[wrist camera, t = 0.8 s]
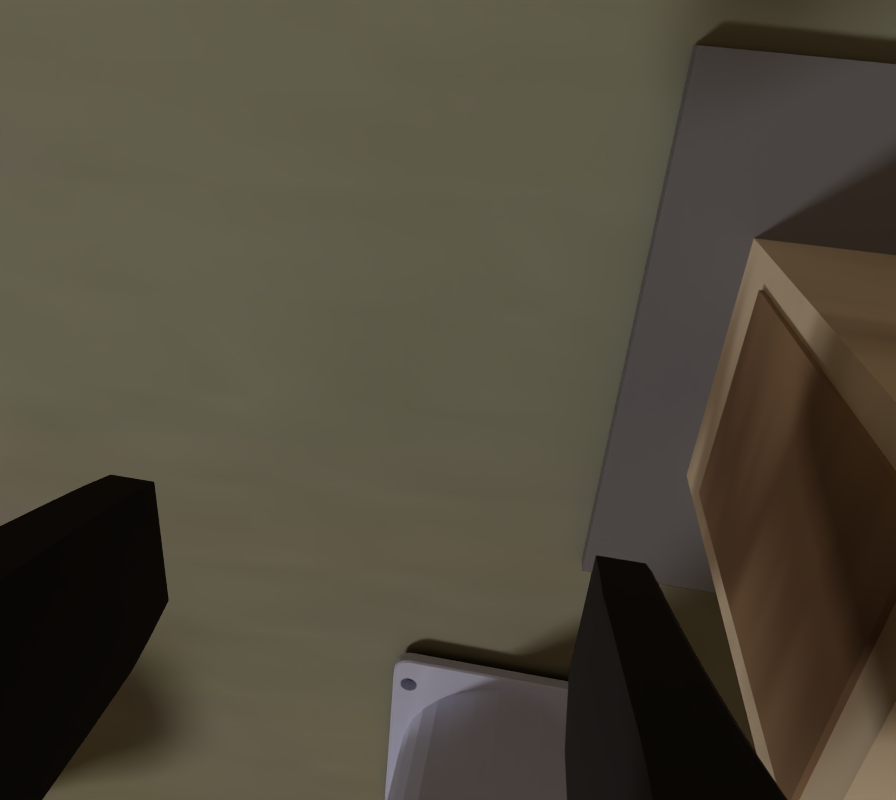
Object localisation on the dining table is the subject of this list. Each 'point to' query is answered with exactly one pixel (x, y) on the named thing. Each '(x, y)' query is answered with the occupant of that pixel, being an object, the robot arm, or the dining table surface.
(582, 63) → the dining table surface
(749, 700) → the birch block
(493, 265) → the dining table surface
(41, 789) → the robot arm
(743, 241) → the rubber mat
